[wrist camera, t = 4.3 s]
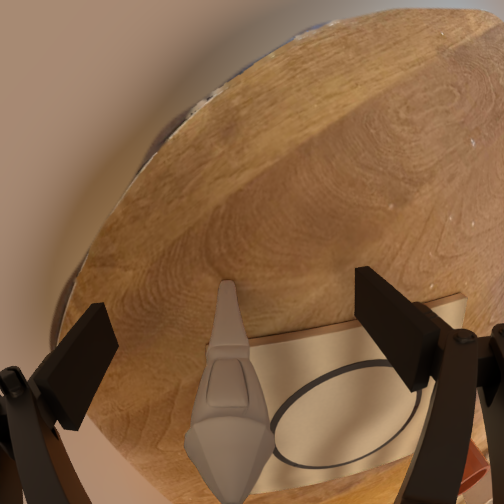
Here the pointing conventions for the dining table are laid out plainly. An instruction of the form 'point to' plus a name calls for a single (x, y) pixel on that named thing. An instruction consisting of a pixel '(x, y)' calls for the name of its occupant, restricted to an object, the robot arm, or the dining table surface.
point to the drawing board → (337, 402)
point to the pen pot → (473, 468)
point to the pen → (229, 409)
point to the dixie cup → (480, 491)
